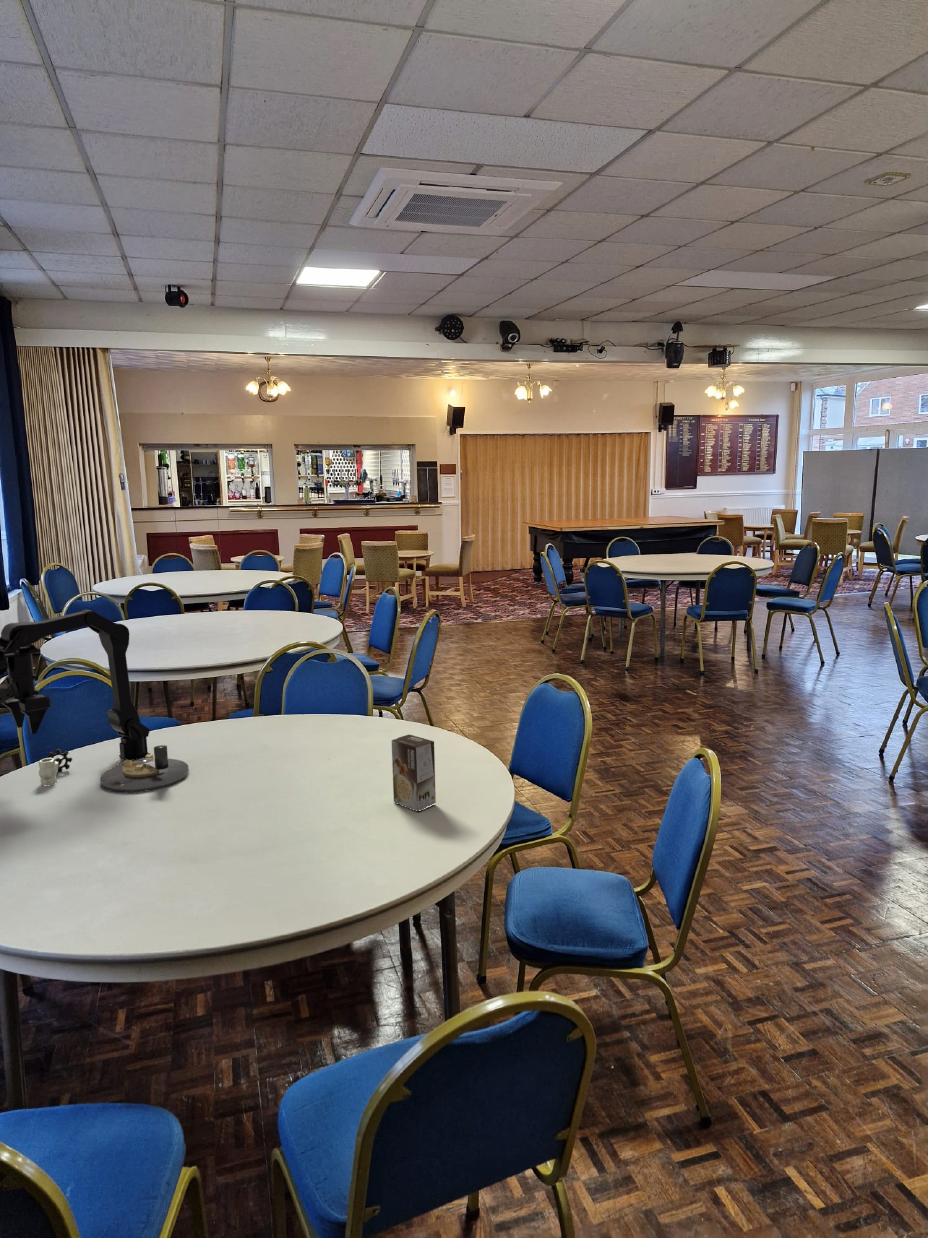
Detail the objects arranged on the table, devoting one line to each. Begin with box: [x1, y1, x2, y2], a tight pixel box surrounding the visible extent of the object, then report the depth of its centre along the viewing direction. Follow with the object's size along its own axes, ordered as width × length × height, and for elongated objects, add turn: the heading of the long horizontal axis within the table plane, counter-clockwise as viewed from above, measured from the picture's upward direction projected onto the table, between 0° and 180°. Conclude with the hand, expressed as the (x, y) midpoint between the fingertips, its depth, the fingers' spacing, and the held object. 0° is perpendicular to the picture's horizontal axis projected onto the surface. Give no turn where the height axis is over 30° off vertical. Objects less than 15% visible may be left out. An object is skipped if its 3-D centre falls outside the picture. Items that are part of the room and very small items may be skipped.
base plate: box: [99, 758, 190, 793], centre depth 210 cm, size 22×22×2 cm
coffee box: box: [391, 734, 437, 811], centre depth 188 cm, size 9×6×16 cm
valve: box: [38, 748, 73, 786], centre depth 210 cm, size 7×7×12 cm
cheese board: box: [122, 744, 169, 778], centre depth 208 cm, size 11×16×8 cm
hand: (26, 730), depth 204 cm, fingers open, 9 cm apart
